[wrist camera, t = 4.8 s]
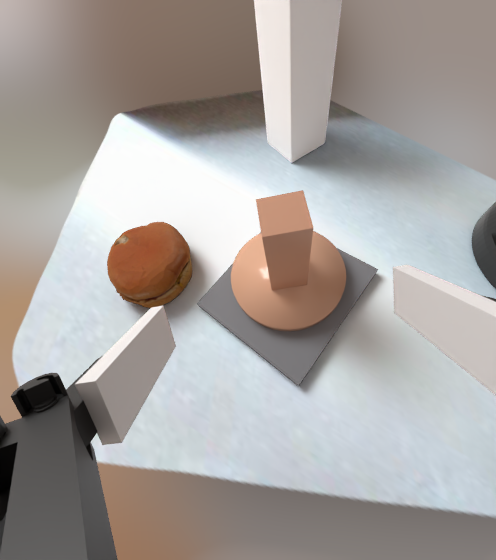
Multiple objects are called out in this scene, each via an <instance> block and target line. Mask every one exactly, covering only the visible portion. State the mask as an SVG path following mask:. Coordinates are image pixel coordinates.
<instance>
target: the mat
mask: <svg viewBox="0 0 496 560" xmlns="http://www.w3.org/2000/svg"><path fill="white" fill-rule="evenodd" d="M336 249H337V248H336ZM337 250H338V251H339V253H340V255H341V256H342V259H343V261H344V264H345V268H346V284H345V289H344V292H343V294H342V297H341V299H340V301H339V303H338V305H337V306H336V308H335V309H334V311H333V312H332V313H331V314H330V315H329V316H328V317H327V318H326V319H324V320H323V321H321V322H320V323H318V324H316V325H314V326H312V327H309V328H306V329H303V330H298V331H279V330H273V329H270V328H267V327H264V326H262V325H260V324H258V323H257V322H255V321H254V320H252V319H251V318H250V317H249V316H248V315H247V314H246V313H245V312H244V311H243V310H242V308H241V307H240V305H239V304H238V302H237V300H236V298H235V296H234V293H233V290H232V285H231V271H232V266H233V264H232V265H231V266H230V267H229V268H228V270H227V271H226V272H225V273H224V274H223V275H222V276H221V277H220V278H219V280H218V281H217V282H216V283H215V284H214V285H213V286H212V287H211V289H210V290H209V291H208V292H207V293H206V294H205V295H204V296H203V297H202V299H201V300H200V301H199V302H198V303H197V304H198V305H199V306H200V307H201V308H202V309H203V310H205V311H206V312H207V313H208V314H209V315H211V316H212V317H213V318H214V319H216V320H217V321H218V322H219V323H221V324H222V325H223V326H224V327H226V328H227V329H228V330H229V331H231V332H232V333H233V334H234V335H236V336H237V337H238V338H239V339H241V340H242V341H243V342H244V343H246V344H247V345H248V346H249V347H251V348H252V349H253V350H254V351H256V352H257V353H258V354H259V355H261V356H262V357H263V358H264V359H265V360H267V361H268V362H269V363H270V364H272V365H273V366H274V367H275V368H277V369H278V370H279V371H280V372H282V373H283V374H284V375H285V376H287V377H288V378H289V379H290V380H292V381H293V382H294V383H295V384H297V385H298V386H299V385H300V383H301V382H302V380H303V379H304V377H305V376H306V374H307V373H308V371H309V370H310V369H311V367H312V366H313V364H314V363H315V361H316V360H317V358H318V357H319V355H320V354H321V352H322V351H323V350H324V348H325V347H326V345H327V344H328V342H329V341H330V339H331V338H332V336H333V335H334V333H335V332H336V331H337V329H338V328H339V326H340V325H341V323H342V322H343V320H344V319H345V317H346V316H347V314H348V313H349V312H350V310H351V309H352V307H353V306H354V304H355V303H356V301H357V300H358V298H359V297H360V295H361V294H362V293H363V291H364V290H365V288H366V287H367V285H368V284H369V282H370V281H371V279H372V278H373V276H374V275H375V274H376V272H377V270H378V269H376V268H374V267H372V266H370V265H368V264H366V263H365V262H363V261H361V260H359V259H357V258H355V257H353V256H351V255H349V254H347V253H345V252H343V251H341V250H339V249H337Z"/></svg>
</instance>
